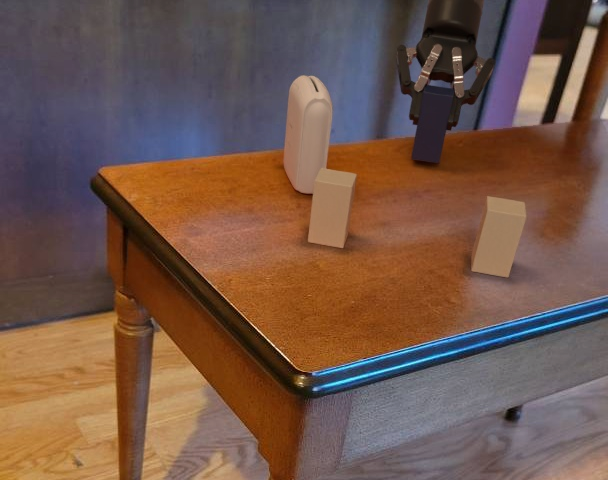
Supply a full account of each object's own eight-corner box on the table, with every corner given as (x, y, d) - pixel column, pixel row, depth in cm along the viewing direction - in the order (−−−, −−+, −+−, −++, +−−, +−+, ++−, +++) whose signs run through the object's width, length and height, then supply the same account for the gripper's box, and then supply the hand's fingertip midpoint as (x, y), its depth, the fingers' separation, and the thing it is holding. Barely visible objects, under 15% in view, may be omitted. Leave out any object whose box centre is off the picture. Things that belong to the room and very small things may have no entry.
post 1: (348, 234, 84) (357, 173, 80) (343, 248, 81) (352, 186, 77) (313, 227, 84) (320, 167, 80) (307, 242, 81) (314, 180, 77)
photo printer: (279, 164, 99) (287, 66, 92) (310, 165, 100) (321, 68, 93) (293, 195, 91) (303, 90, 84) (326, 196, 92) (339, 92, 85)
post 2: (507, 261, 82) (524, 201, 78) (508, 278, 79) (526, 216, 75) (471, 255, 83) (487, 195, 79) (471, 271, 80) (487, 209, 75)
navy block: (440, 154, 106) (454, 88, 101) (439, 163, 103) (453, 96, 98) (412, 150, 107) (425, 84, 101) (410, 159, 104) (423, 91, 98)
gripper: (405, -16, 99) (381, 101, 97) (511, -1, 98) (490, 118, 96) (401, 21, 107) (379, 130, 105) (500, 35, 106) (480, 146, 103)
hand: (432, 124), depth 100 cm, fingers closed on navy block, 4 cm apart
